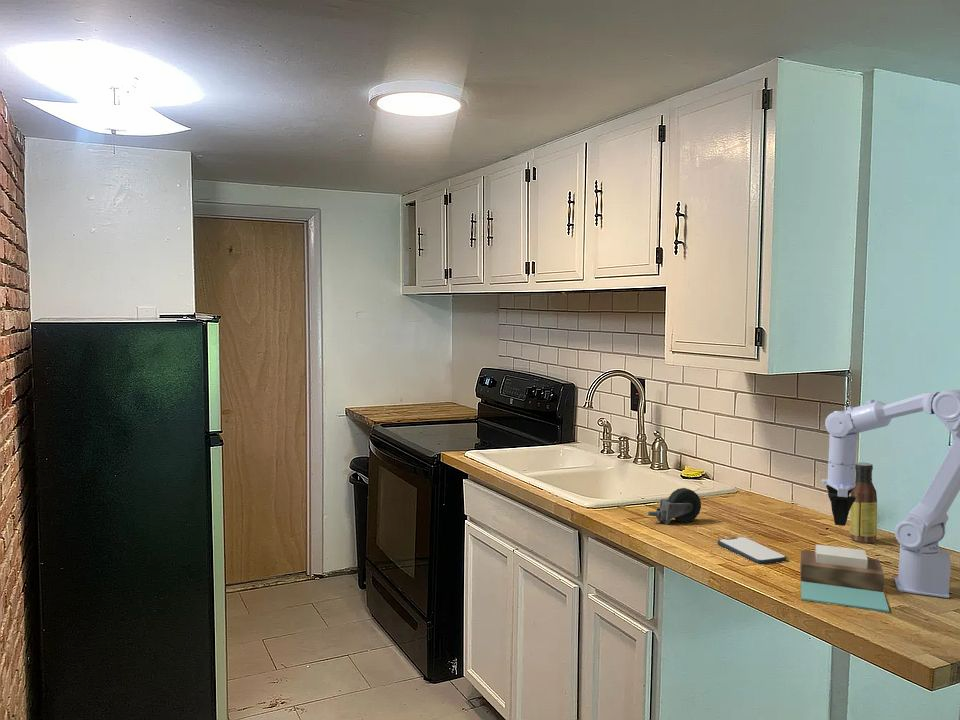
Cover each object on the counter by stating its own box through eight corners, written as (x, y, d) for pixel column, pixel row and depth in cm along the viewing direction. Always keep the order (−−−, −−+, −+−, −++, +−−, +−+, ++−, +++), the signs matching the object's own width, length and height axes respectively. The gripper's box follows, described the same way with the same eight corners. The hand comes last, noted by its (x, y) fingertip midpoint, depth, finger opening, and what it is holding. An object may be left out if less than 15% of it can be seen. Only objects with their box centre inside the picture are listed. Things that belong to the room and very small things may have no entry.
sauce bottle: (879, 540, 201) (883, 464, 199) (871, 545, 196) (876, 467, 195) (852, 534, 206) (856, 460, 204) (844, 540, 201) (848, 463, 199)
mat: (883, 594, 164) (883, 592, 164) (889, 612, 154) (889, 610, 154) (800, 582, 170) (800, 581, 170) (801, 600, 160) (801, 598, 160)
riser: (877, 577, 174) (878, 559, 174) (883, 593, 164) (884, 574, 164) (800, 566, 180) (801, 550, 180) (800, 582, 170) (801, 564, 170)
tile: (864, 558, 174) (864, 550, 174) (867, 568, 168) (867, 559, 167) (815, 553, 178) (815, 544, 178) (816, 562, 171) (816, 553, 171)
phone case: (789, 563, 184) (743, 542, 199) (789, 557, 184) (744, 536, 199) (759, 567, 181) (714, 545, 196) (759, 561, 181) (715, 539, 196)
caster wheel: (691, 521, 220) (642, 518, 216) (695, 487, 219) (647, 484, 216) (701, 526, 214) (652, 524, 211) (706, 492, 214) (656, 489, 210)
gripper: (821, 455, 188) (818, 510, 189) (824, 467, 175) (821, 526, 176) (853, 457, 186) (851, 514, 187) (859, 470, 172) (856, 530, 173)
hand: (838, 520), depth 181 cm, fingers open, 7 cm apart
